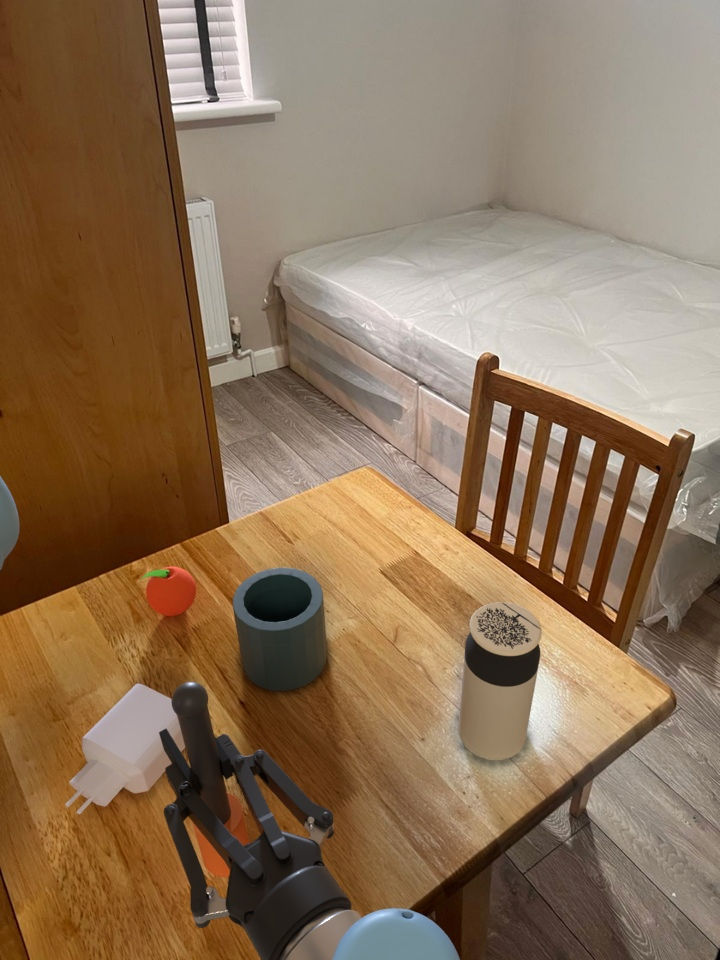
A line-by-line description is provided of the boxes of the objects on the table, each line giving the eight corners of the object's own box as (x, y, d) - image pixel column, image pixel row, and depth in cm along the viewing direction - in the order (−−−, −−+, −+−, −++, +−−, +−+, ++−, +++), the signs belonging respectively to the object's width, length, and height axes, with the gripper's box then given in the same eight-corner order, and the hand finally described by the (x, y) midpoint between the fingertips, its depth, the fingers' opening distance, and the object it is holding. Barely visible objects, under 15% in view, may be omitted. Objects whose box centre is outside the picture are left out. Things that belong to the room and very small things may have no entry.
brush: (222, 887, 72) (179, 723, 57) (193, 854, 74) (145, 689, 60) (259, 851, 74) (228, 687, 60) (230, 821, 77) (193, 656, 63)
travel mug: (487, 774, 83) (501, 667, 72) (444, 724, 88) (452, 618, 78) (539, 741, 86) (560, 634, 76) (495, 695, 92) (508, 589, 81)
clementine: (136, 623, 103) (126, 586, 99) (153, 590, 109) (144, 553, 105) (191, 628, 102) (183, 590, 98) (205, 593, 108) (198, 556, 104)
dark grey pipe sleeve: (281, 706, 91) (273, 645, 85) (225, 659, 97) (214, 599, 91) (344, 655, 97) (341, 595, 91) (288, 614, 104) (281, 555, 98)
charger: (47, 803, 81) (142, 705, 91) (108, 842, 77) (200, 735, 88) (36, 778, 78) (135, 680, 89) (98, 817, 74) (194, 709, 85)
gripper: (228, 1038, 53) (110, 798, 69) (397, 902, 60) (256, 713, 76) (213, 994, 49) (92, 749, 64) (397, 854, 56) (248, 665, 72)
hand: (181, 730), depth 70 cm, fingers closed on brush, 3 cm apart
